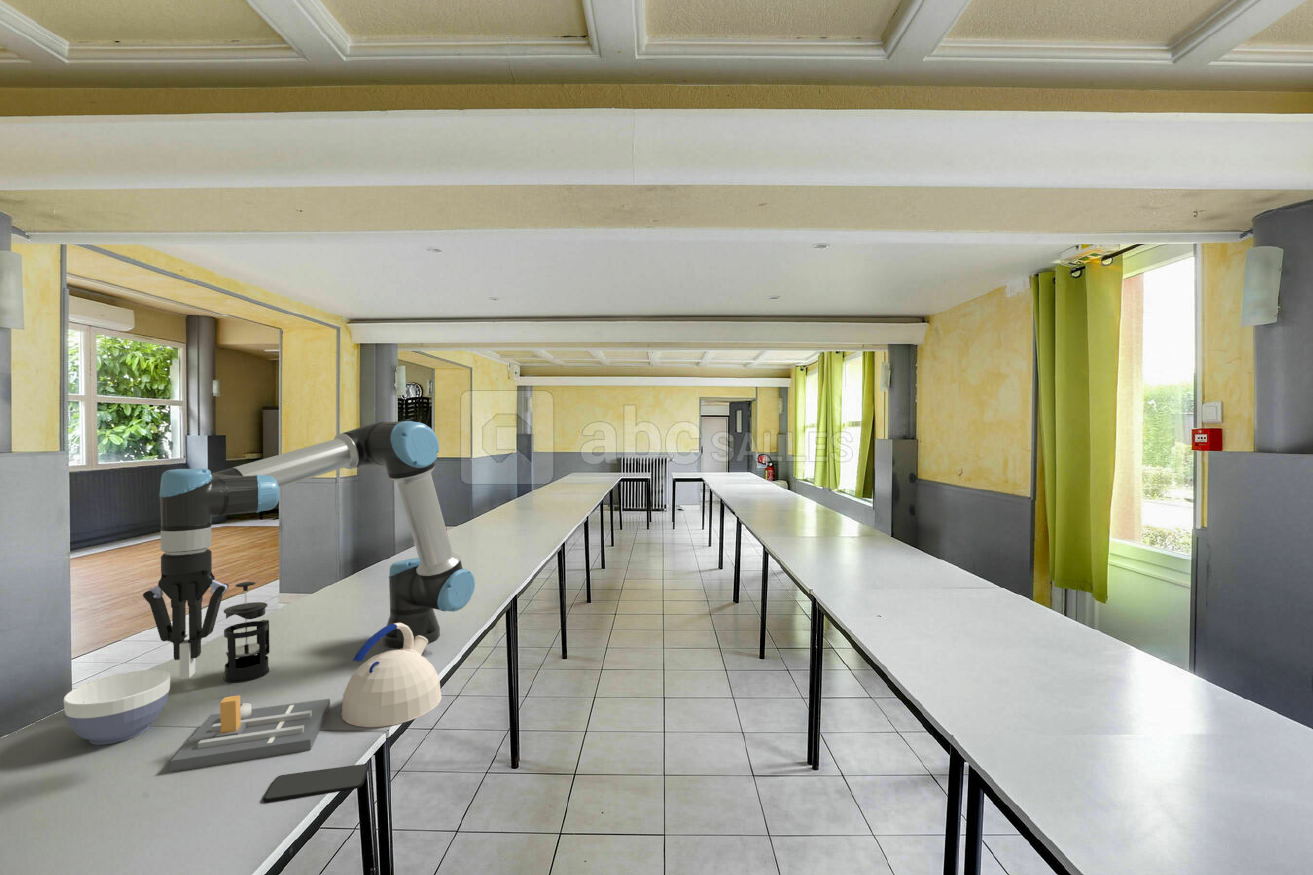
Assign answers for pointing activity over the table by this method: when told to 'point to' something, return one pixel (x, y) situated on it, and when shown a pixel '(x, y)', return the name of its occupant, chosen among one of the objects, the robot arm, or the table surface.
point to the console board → (254, 735)
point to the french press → (246, 661)
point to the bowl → (117, 705)
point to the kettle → (391, 683)
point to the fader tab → (230, 717)
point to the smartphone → (316, 782)
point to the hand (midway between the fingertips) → (187, 675)
